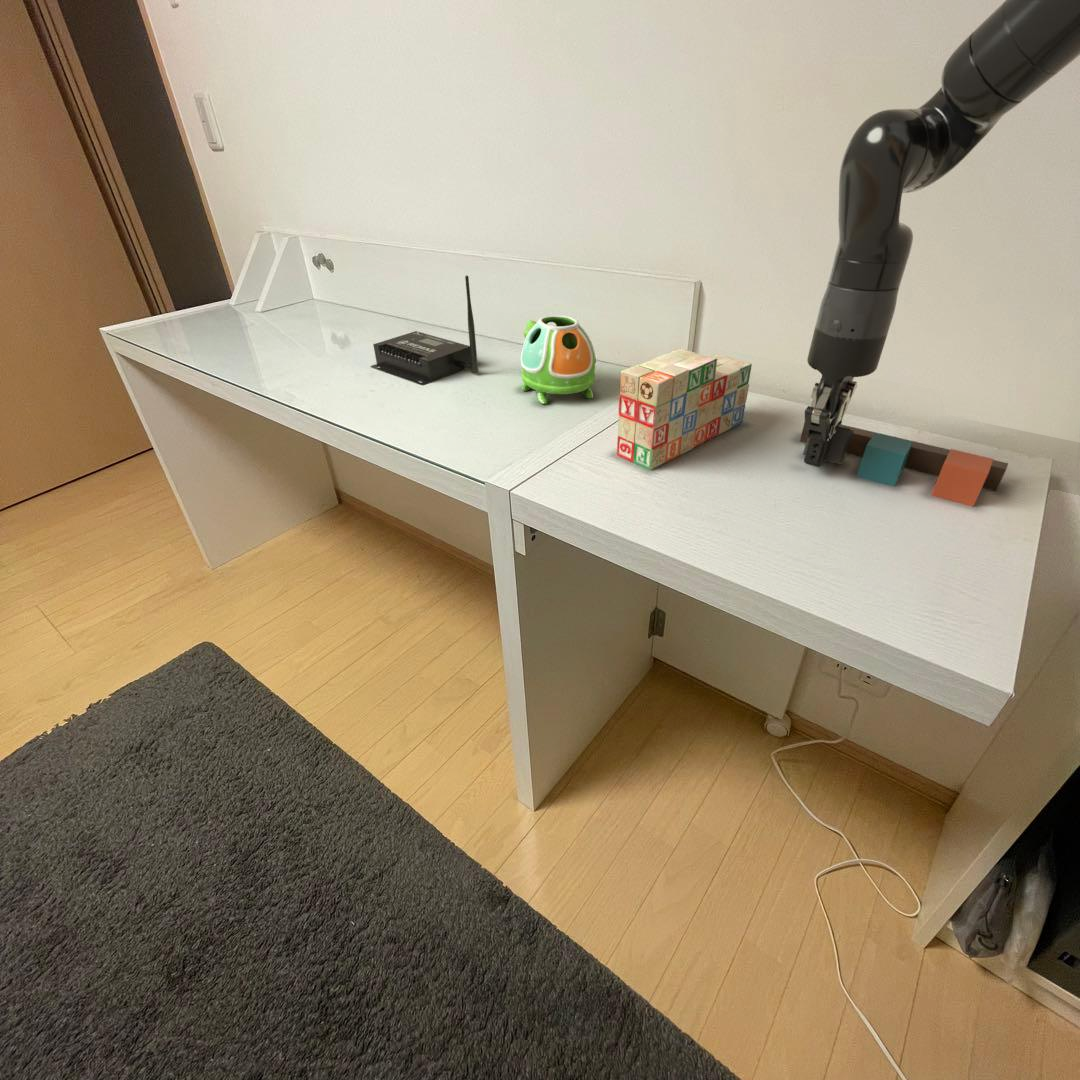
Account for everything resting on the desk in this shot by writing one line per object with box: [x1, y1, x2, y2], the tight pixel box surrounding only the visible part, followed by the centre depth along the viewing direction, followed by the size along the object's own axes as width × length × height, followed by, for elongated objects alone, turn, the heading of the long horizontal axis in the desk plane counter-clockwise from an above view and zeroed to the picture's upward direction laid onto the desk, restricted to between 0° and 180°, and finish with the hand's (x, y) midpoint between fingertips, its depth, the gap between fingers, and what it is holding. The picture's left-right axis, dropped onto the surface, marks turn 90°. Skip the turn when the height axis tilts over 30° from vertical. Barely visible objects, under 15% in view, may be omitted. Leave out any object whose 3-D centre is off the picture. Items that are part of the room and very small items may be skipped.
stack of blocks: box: [616, 348, 753, 471], centre depth 85 cm, size 21×6×12 cm, turn 131°
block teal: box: [856, 432, 914, 488], centre depth 78 cm, size 4×4×4 cm
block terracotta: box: [930, 448, 995, 508], centre depth 74 cm, size 4×4×4 cm
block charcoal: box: [802, 426, 854, 465], centre depth 80 cm, size 4×4×4 cm
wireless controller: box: [369, 275, 479, 386], centre depth 111 cm, size 20×14×17 cm
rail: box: [799, 421, 1009, 492], centre depth 81 cm, size 24×2×3 cm, turn 52°
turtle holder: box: [520, 314, 597, 405], centre depth 103 cm, size 12×18×12 cm
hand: (813, 462), depth 78 cm, fingers closed
